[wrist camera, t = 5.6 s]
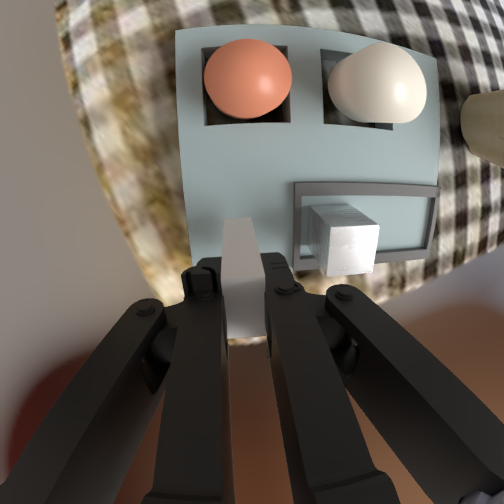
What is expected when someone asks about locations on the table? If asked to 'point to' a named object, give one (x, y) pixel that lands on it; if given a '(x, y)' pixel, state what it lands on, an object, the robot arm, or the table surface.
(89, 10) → the table surface
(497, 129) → the flower pot
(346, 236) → the grey stone cube
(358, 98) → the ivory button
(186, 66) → the panel
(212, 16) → the table surface
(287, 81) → the salmon orange egg
